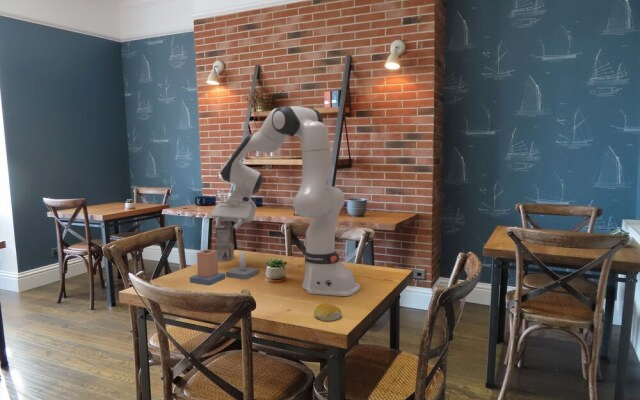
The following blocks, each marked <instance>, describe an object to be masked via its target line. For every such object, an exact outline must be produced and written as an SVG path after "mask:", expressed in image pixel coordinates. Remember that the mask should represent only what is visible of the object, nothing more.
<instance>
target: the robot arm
mask: <svg viewBox="0 0 640 400" xmlns="http://www.w3.org/2000/svg"><path fill="white" fill-rule="evenodd" d="M323 120H324V119H323V115H322V113H321V112H320V111H318V110H317V109H315V108H312V107H304V106H300V105H298V106H297V105H291V106H289V105H283V106H279V107H275V108H273V109H272V110H271V111H270V113H269V114H268V115H267V117H266V118H265V120H264V121H263V123H262V124H261V127H260V129H259V130H257V131H256V132H254V133H253V132H252V133H249V134H248V135H247V136H246V137H245V138H244V139H243V140H242V142H241V143H240V144H239V145H238V147H237V148H236V149H235V150H234V152H233V154H232V155H231V156H230V158H229V159H227V161H225V163H223V164H222V166H221V169H220V175H221V178H222V180H223V181H225V182H227V183H230V184H233V185H234V190H233V191H232V192H231V194H230V196H229V198H228V199H227V201H220V202H218V203H217V204H216V205H215V207H214V208H213V210H212V211H211V212H210V213H211V214H210V216H211V217H212V219H213V220H214V221H215V229H216V228H220V226H221V225H222V224H221V223H220V222H222V221H226V222H227V221H228V222H236V223H234V224H233V230H239V228H240V226H242V225H243V224H244V223H251V222H252V221H253V219H254V218H255V215H256V210H257V209H258V207H257V205H256V203H255V202H254V200H253V199H252V198H251V197H252V196H253V195H255V194H258V192H259V190H260V187H261V185H262V184H263V182H264V177H263V175H262V173H261V172H260V171H257V170H255V169H253V168H251V167H249V166H247V165H245V164H243V163H242V162H241V160H242V159H243V157H244V156H245V155H246V154H247V153H248V152H260V153H268V154H269V153H273V152H274V153H275V152H276V151H278V150H280V149H281V147H282V146H283V144H284V143H285V141H286V139H287V137H294V136H297V137H298V138H299V141H300V149H301V163H302V164H301V165H302V167H301V168H302V173H301V174H302V176H301V182H300V185H299V189H298V192H297V193H296V194H295V196H294V197H293V201H292V202H293V203H292V204H293V209H294V212H295V213H296V215H298V216H299V217H301V218H305V219H311V222H310V224H309V226H308V227H307V229H306V232H305V251H304V264H305V270H304V271H305V273H304V278H303V281H302V284H301V286H302V289H304V291H306V292H307V293H308V294H310V295H323V296H324V295H325V296H335V297H338V296H339V297H350V296H353V295H355V294H356V293H357V292H359V290H360V289H361V285H360V283H357V282H355V277H354V273H353V271H352V269H351V270H350V269H349V268H348V267H347V266H346V265H345V264H343V263H342V262H341V261H340V257H341V253H340V252H339V253H337V251H336V250H335V238H336V236H335V235H336V227H337V224H338V218H339V215H340V213H341V210H342V208H343V207H344V204H345V202H346V197H345V194H344V192H343V190H341V188H338V187H336V186H332V185H327V184H328V178H329V176H330V174H331V172H332V169H333V168H332V167H333V166H332V152H331V143H330V137H329V132H328V129H327V126H326V124H325V123H324V121H323Z"/></svg>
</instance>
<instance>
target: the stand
mask: <svg viewBox="0 0 640 400" xmlns="http://www.w3.org/2000/svg"><path fill="white" fill-rule="evenodd" d="M238 256H239V266H237V267H235V268H231V269H229V270H227V271H225V278H226V277H227V278H233V279H240V280H248V279H250V278H252V277H254V276H257V275H259V274H260V268H257V267H256V268H255V267H248V266H246V251H243V250H241V251H239V254H238Z"/></svg>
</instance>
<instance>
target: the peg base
mask: <svg viewBox="0 0 640 400" xmlns="http://www.w3.org/2000/svg"><path fill="white" fill-rule="evenodd" d="M224 279H226V273H224V272H218V274H217V275H215V276H213V277H210V278H205V277H199V276H198V273H197V274H194V275H192V276H190V277H189V282H190V283H193V284H194V283H195V284H199V283H200V284H201V285H206V286H207V285H208V286H211V285H213V284H215V283H218V282H220V281H222V280H224Z"/></svg>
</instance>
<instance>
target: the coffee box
mask: <svg viewBox="0 0 640 400" xmlns="http://www.w3.org/2000/svg"><path fill="white" fill-rule="evenodd" d="M233 226H234V224H230V225H229V224H221V226H220V228H216V227H215V235H216V236H215V239H216V251H217V262H230V261H232V259H233V258H234V257H235V251H234V250H235V249H234V247H235V245H234V228H233Z"/></svg>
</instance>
